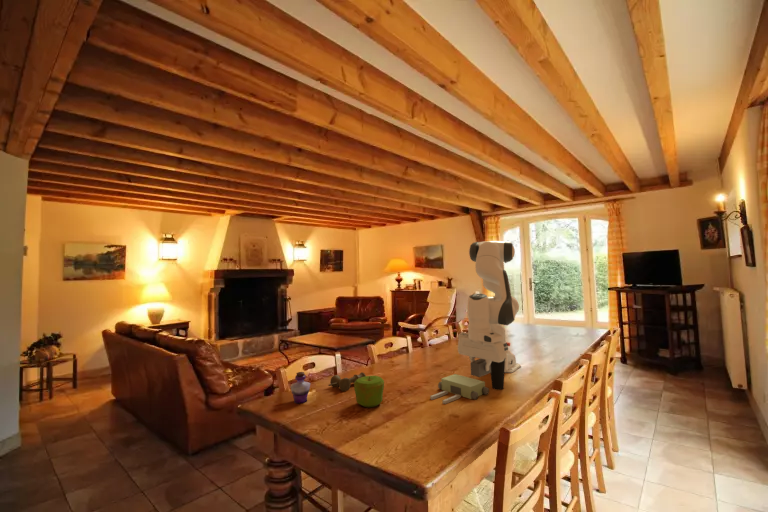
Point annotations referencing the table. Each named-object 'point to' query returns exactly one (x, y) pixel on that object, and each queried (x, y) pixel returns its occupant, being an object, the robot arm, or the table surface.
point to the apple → (369, 390)
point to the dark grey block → (479, 368)
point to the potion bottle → (300, 388)
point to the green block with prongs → (460, 388)
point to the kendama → (344, 381)
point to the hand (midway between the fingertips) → (480, 369)
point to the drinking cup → (497, 374)
